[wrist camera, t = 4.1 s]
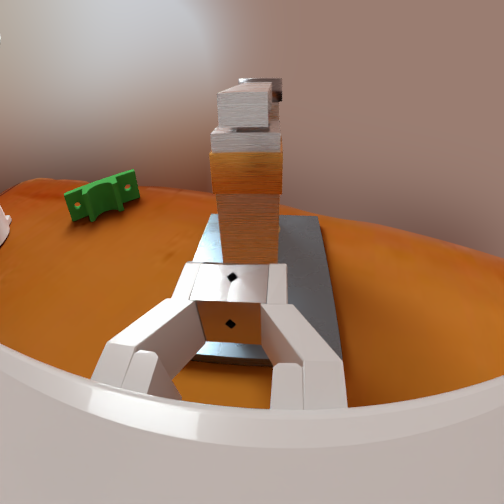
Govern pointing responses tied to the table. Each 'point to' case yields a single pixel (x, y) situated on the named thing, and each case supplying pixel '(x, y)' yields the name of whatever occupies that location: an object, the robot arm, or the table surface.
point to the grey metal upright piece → (250, 103)
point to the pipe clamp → (102, 196)
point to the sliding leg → (248, 191)
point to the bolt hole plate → (299, 286)
